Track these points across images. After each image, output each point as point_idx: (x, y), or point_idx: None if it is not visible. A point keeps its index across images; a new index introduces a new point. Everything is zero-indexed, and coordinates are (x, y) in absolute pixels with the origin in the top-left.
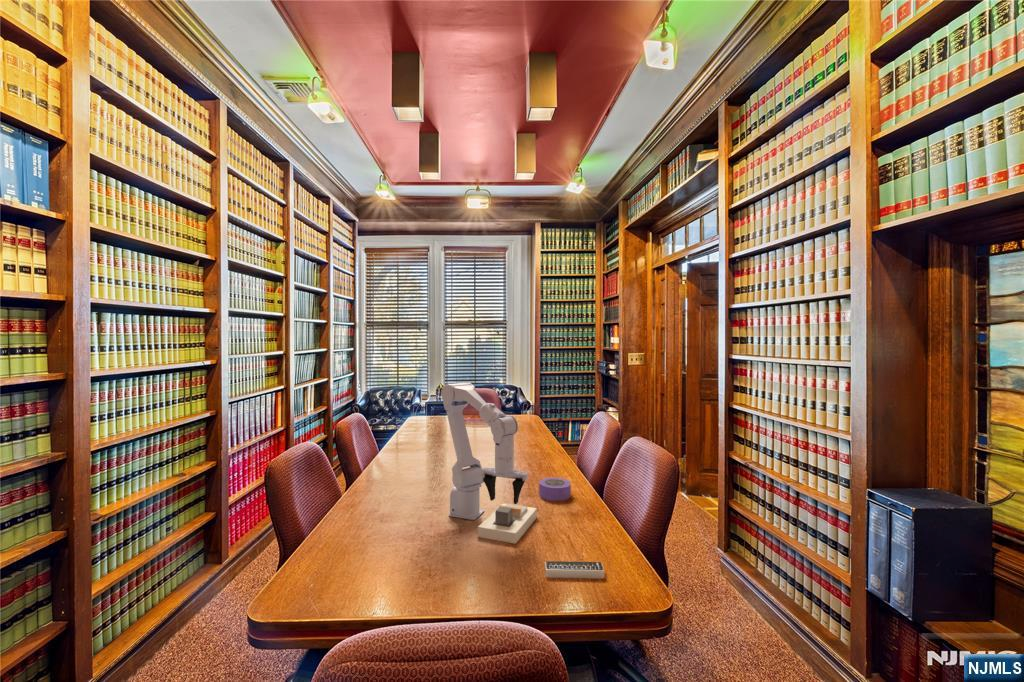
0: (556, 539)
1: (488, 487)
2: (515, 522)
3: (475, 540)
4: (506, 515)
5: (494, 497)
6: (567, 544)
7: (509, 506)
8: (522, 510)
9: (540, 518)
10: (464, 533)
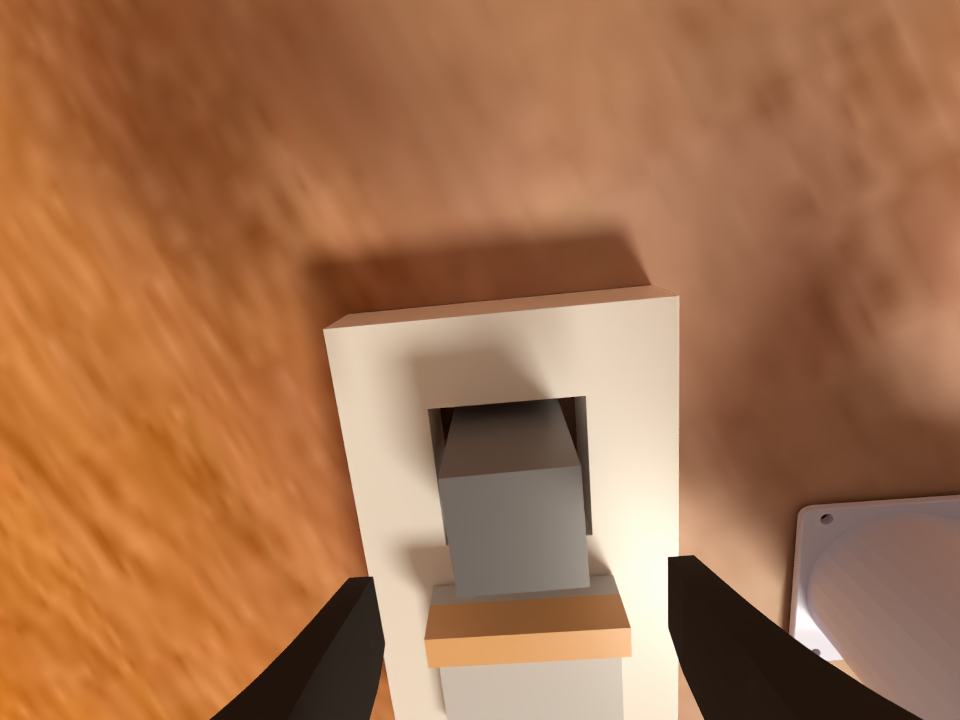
0: (151, 486)
1: (826, 688)
2: (425, 502)
3: (642, 225)
4: (455, 462)
5: (673, 628)
6: (57, 454)
7: (541, 658)
8: (449, 675)
9: (388, 699)
10: (777, 291)
